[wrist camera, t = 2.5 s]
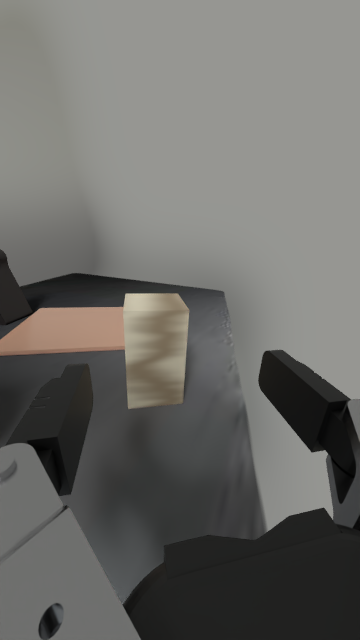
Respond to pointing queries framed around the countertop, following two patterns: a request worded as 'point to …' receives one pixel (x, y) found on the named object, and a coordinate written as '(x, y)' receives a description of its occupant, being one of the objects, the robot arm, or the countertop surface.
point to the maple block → (155, 349)
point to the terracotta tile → (67, 331)
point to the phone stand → (11, 295)
